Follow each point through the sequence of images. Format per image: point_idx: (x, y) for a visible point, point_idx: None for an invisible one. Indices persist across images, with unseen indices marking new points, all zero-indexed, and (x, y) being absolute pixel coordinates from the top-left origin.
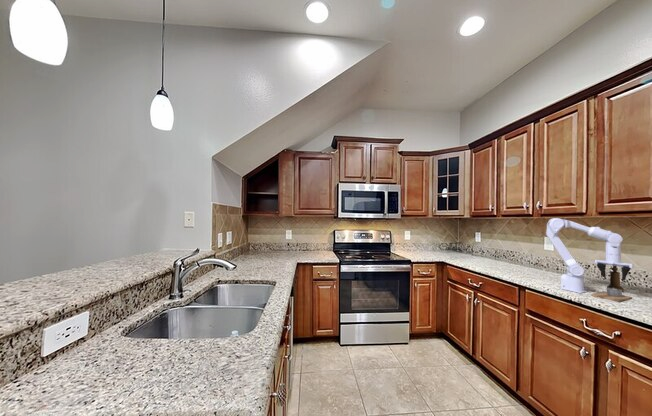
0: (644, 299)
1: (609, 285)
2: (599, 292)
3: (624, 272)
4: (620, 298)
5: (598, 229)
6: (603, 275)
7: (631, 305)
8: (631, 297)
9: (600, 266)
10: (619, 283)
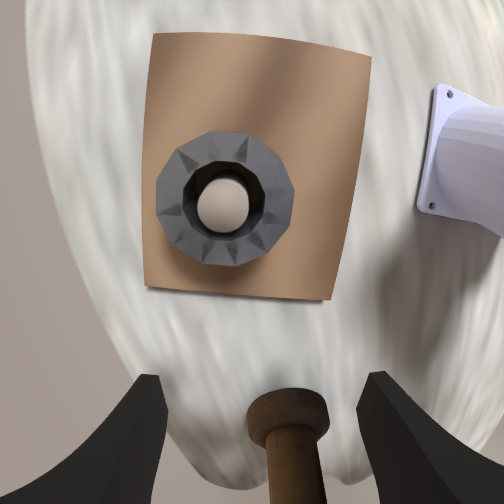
0: (114, 330)
1: (317, 424)
2: (345, 207)
3: (74, 472)
4: (165, 115)
5: None
6: (385, 387)
7: (87, 28)
8: (145, 274)
9: (491, 496)
10: (268, 456)
